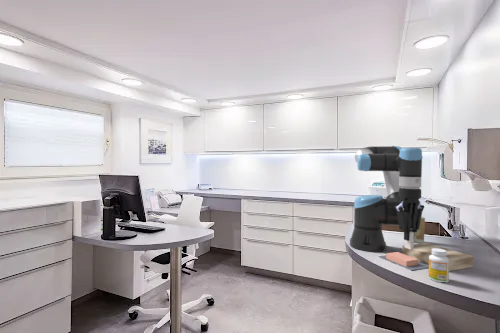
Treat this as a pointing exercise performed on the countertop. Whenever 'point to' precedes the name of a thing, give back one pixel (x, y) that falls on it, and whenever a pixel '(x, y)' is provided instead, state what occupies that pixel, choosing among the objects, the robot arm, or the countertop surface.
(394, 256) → the salmon pink rectangular block
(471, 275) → the countertop surface
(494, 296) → the countertop surface
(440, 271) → the supplement bottle
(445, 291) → the countertop surface
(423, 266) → the mat
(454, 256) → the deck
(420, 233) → the skincare box
